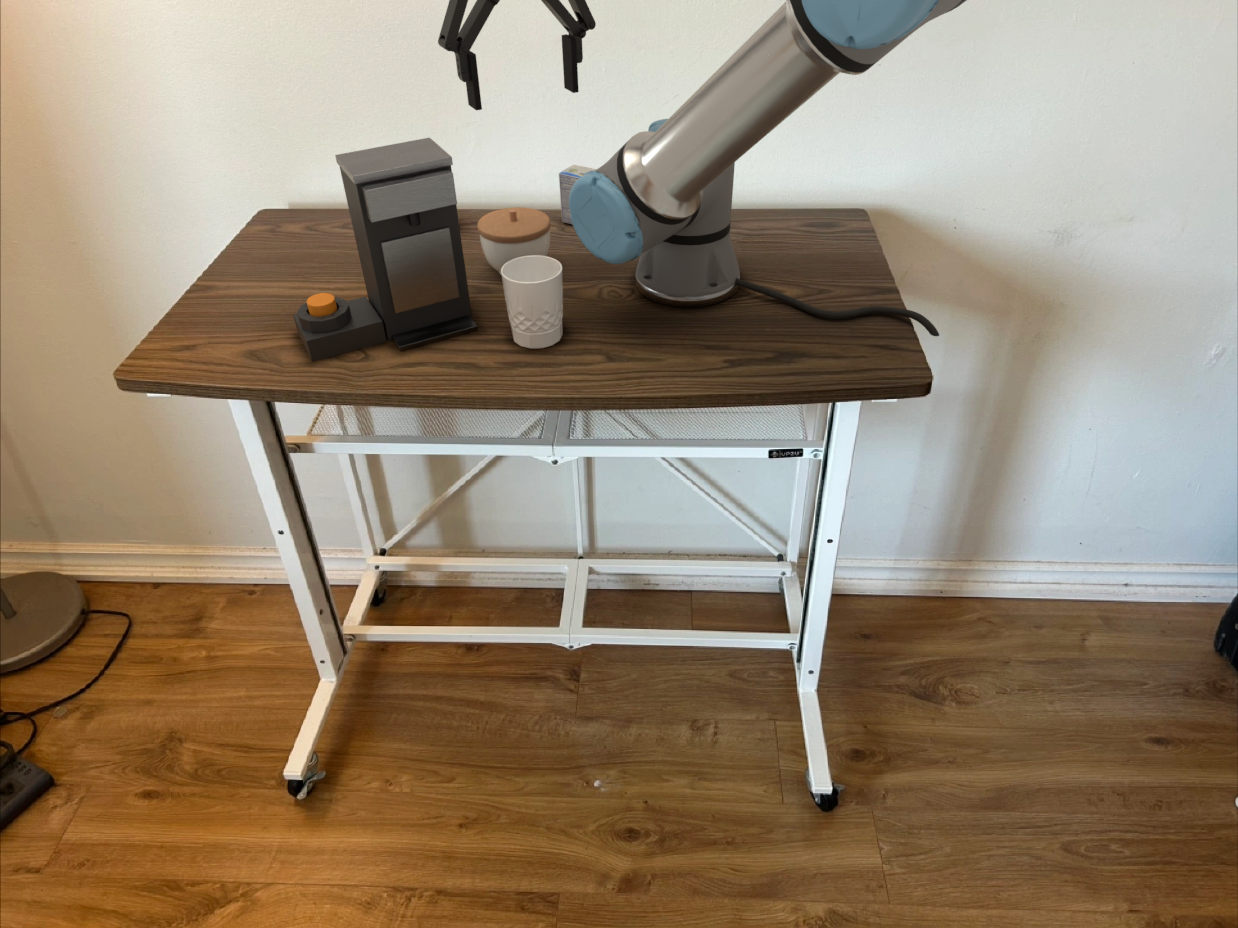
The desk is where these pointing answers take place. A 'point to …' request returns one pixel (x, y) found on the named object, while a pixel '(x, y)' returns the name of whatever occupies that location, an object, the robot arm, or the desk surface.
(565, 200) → the medicine box
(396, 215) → the coffee machine
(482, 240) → the trinket box
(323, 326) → the button base
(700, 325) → the desk surface
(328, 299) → the button
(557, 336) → the white cup
